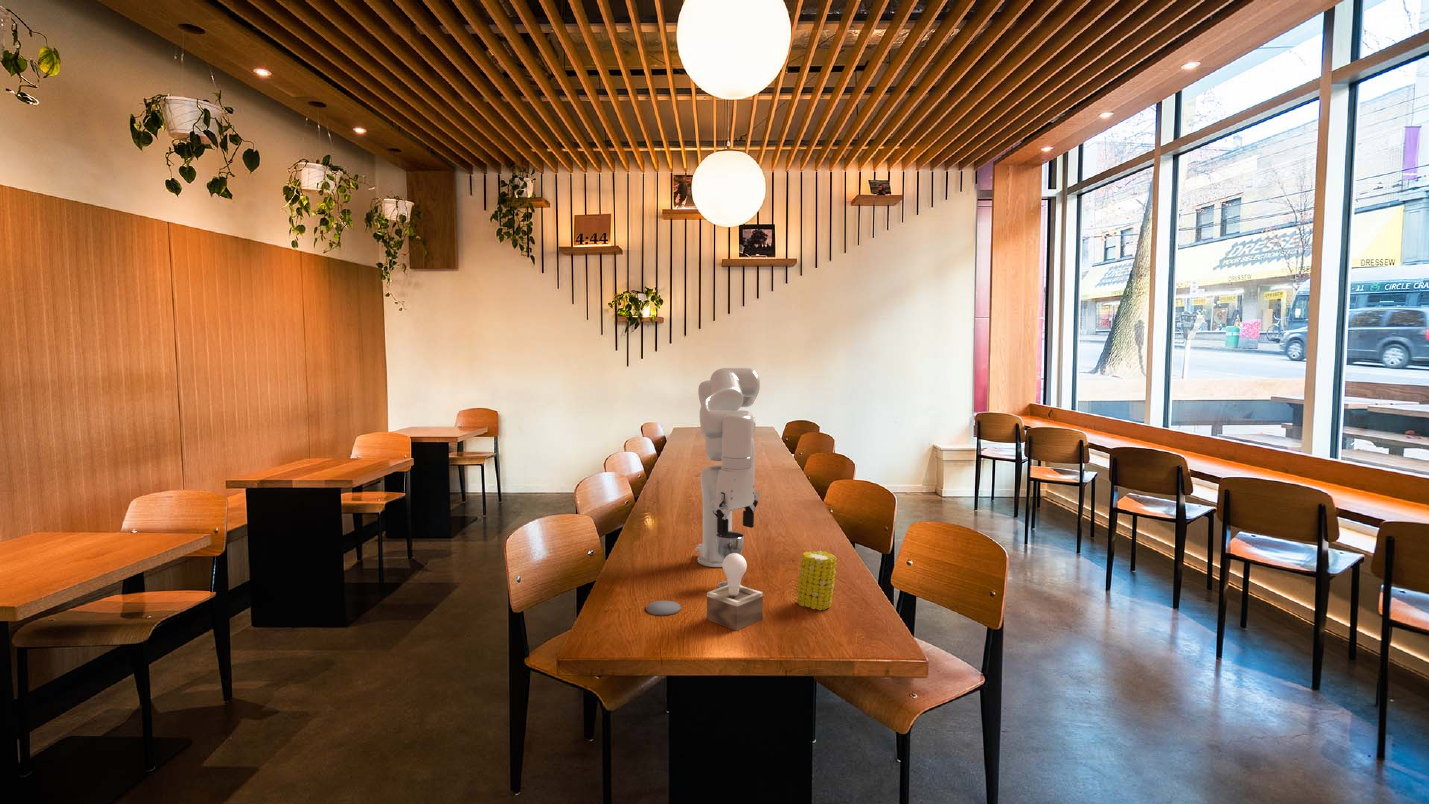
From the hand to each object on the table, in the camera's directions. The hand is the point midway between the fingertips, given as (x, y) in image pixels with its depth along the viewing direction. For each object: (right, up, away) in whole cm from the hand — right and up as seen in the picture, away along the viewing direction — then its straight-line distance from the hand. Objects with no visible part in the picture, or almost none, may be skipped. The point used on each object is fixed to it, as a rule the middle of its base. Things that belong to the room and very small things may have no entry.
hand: (735, 530), depth 167 cm
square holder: (0, -23, +1) cm, 23 cm away
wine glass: (-1, -21, +26) cm, 34 cm away
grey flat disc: (-19, -22, +8) cm, 30 cm away
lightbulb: (-1, -17, +1) cm, 17 cm away
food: (+22, -23, +12) cm, 34 cm away
